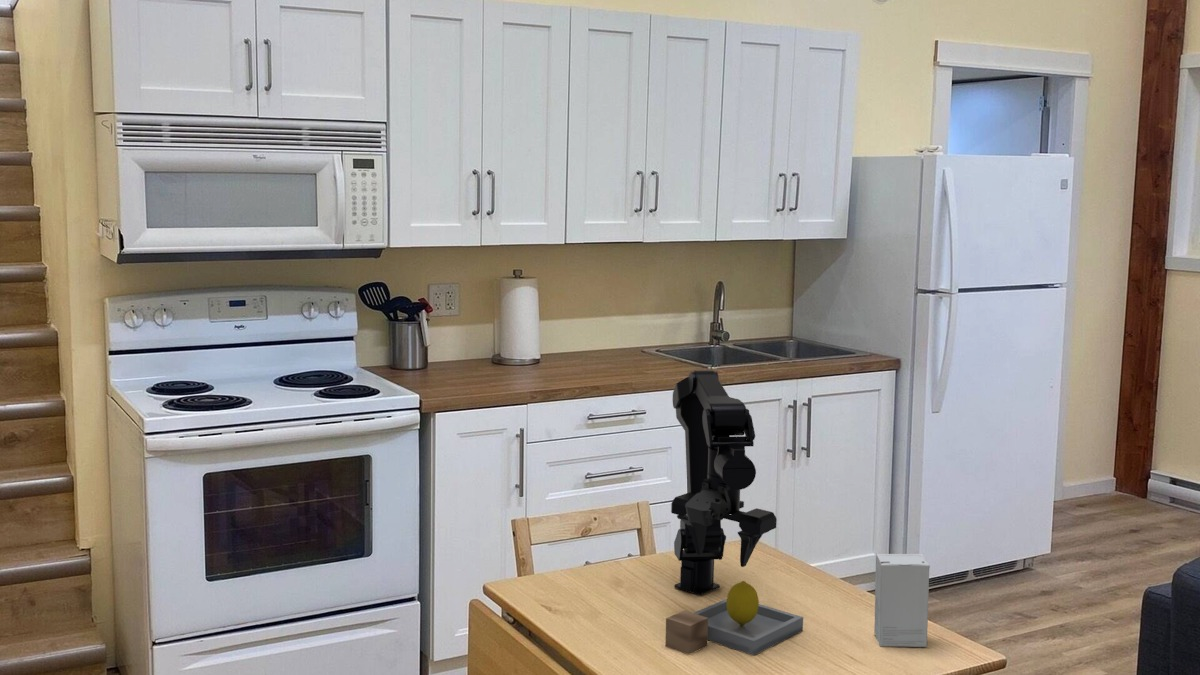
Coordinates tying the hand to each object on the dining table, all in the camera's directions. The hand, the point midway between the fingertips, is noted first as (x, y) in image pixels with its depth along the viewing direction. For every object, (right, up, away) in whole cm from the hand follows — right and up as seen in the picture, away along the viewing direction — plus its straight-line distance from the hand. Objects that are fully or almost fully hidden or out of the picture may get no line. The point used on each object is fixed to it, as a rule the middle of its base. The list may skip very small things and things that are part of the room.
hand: (721, 560), depth 208 cm
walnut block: (-7, -13, -9) cm, 17 cm away
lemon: (+3, -11, -2) cm, 12 cm away
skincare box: (+30, -13, -5) cm, 33 cm away
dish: (+4, -12, -2) cm, 13 cm away
